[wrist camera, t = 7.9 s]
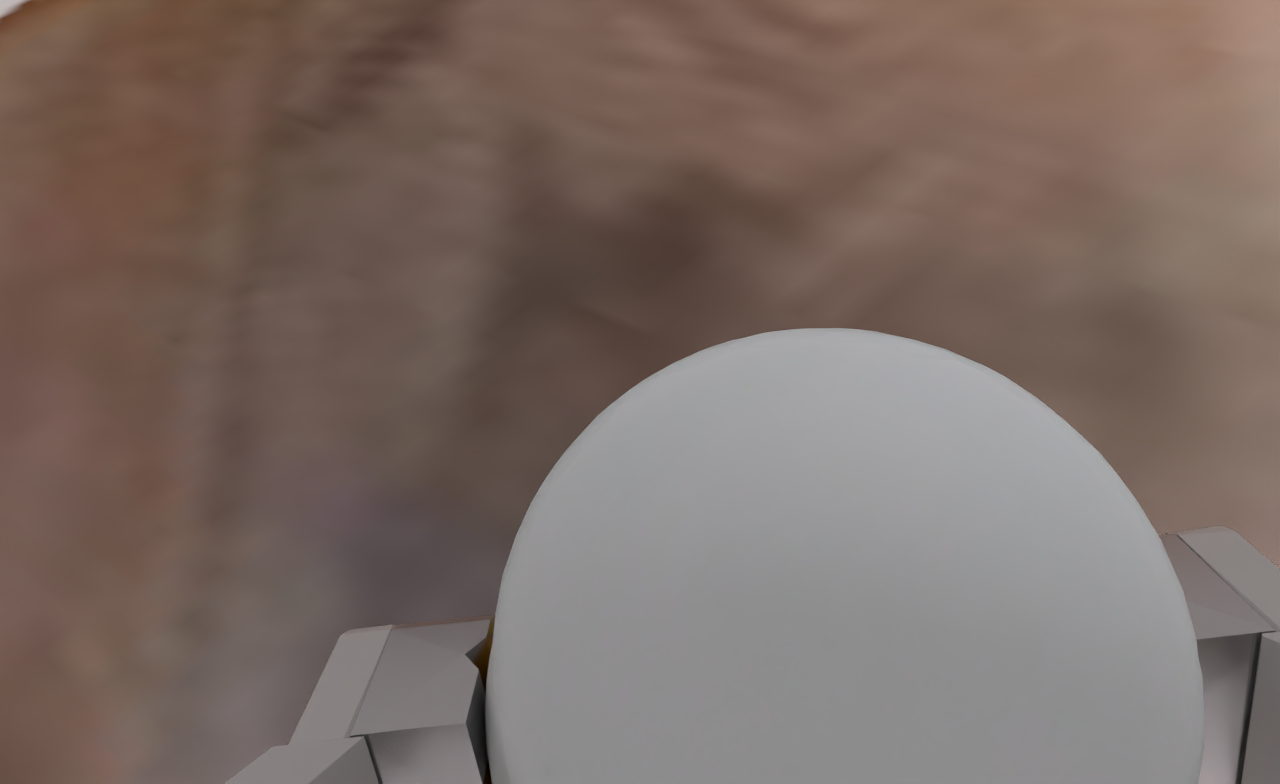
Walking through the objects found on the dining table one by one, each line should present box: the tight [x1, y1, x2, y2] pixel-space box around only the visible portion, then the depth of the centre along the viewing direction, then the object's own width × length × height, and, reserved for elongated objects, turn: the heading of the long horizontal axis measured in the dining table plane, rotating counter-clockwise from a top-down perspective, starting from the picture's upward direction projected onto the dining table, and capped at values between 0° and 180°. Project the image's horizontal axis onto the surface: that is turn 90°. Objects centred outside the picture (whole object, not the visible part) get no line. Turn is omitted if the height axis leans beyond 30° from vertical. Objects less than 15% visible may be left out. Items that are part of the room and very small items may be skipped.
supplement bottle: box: [485, 328, 1205, 784], centre depth 10 cm, size 5×5×10 cm
